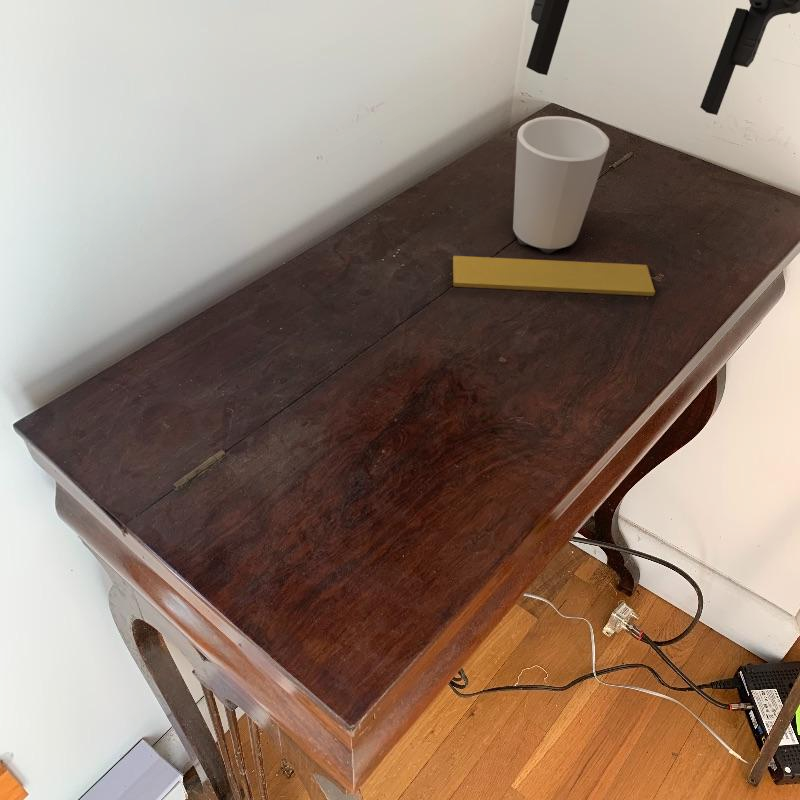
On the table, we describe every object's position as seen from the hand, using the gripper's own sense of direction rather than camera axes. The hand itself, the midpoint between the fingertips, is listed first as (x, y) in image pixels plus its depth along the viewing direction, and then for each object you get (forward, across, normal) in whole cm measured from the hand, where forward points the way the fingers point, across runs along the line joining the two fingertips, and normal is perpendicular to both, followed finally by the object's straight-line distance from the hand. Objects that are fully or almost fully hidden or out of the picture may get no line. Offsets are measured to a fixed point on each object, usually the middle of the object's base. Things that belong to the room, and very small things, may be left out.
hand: (618, 91), depth 60 cm
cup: (+15, +13, -30) cm, 36 cm away
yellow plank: (+18, +8, -24) cm, 31 cm away
